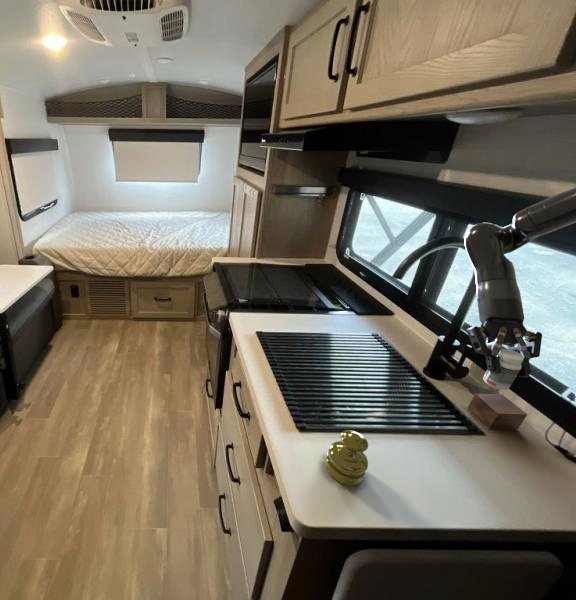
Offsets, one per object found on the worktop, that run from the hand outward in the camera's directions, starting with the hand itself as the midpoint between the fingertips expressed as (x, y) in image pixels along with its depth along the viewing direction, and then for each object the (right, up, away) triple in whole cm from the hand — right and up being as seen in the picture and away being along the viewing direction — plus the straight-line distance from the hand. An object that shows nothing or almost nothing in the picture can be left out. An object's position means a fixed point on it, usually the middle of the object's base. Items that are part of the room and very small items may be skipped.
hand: (509, 374), depth 74 cm
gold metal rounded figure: (-39, -19, -4) cm, 44 cm away
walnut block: (+6, -14, +11) cm, 19 cm away
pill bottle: (0, -3, +4) cm, 5 cm away
